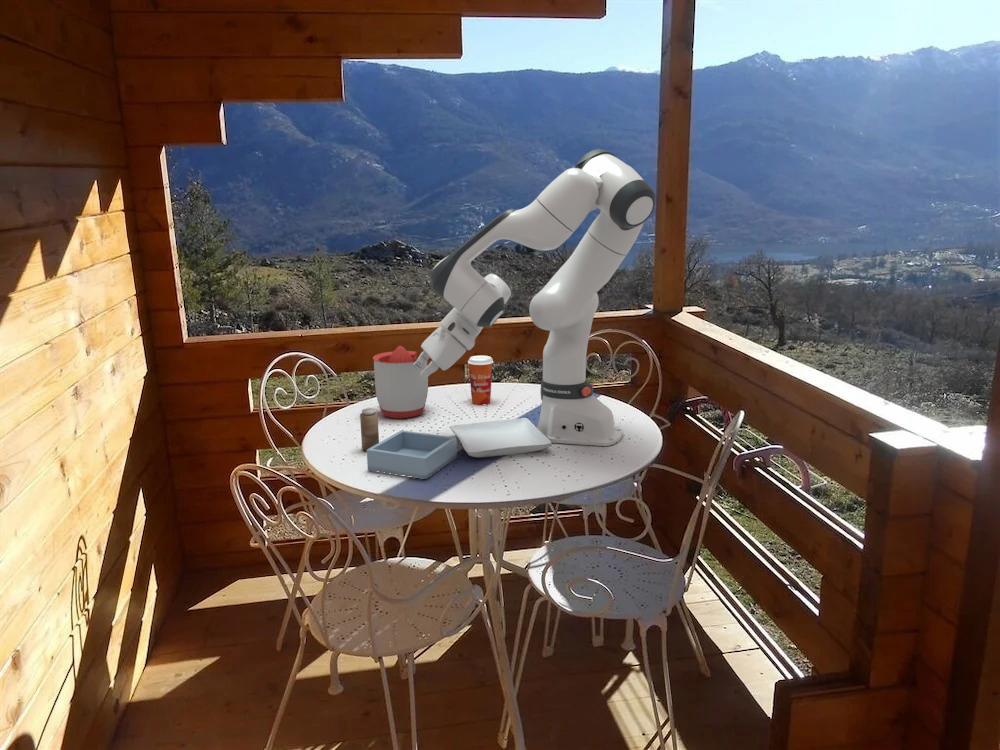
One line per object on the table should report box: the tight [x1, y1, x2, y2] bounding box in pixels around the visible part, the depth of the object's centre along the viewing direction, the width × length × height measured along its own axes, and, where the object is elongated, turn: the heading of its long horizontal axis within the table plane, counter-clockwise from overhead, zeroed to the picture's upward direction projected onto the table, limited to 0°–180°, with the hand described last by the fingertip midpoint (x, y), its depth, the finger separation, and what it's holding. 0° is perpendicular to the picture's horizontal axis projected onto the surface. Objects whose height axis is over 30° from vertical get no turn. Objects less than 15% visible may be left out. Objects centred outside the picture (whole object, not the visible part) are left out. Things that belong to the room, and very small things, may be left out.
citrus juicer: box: [372, 345, 429, 420], centre depth 195 cm, size 16×17×20 cm
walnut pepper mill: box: [359, 407, 380, 453], centre depth 166 cm, size 4×4×10 cm
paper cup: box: [467, 355, 495, 406], centre depth 206 cm, size 8×8×14 cm
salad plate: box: [449, 417, 552, 458], centre depth 170 cm, size 21×21×3 cm
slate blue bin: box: [366, 429, 458, 480], centre depth 157 cm, size 15×15×5 cm
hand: (418, 372), depth 165 cm, fingers open, 8 cm apart
